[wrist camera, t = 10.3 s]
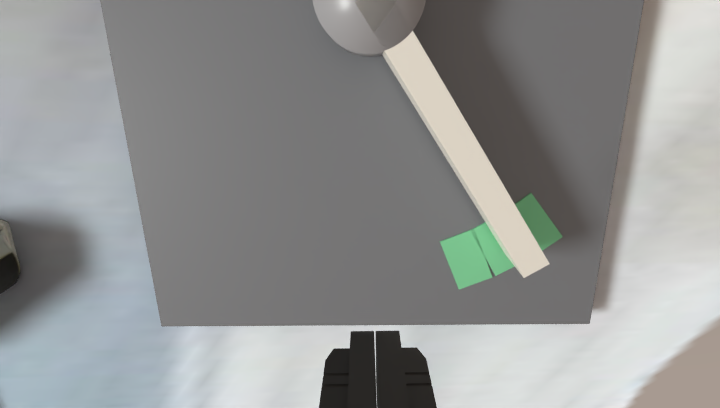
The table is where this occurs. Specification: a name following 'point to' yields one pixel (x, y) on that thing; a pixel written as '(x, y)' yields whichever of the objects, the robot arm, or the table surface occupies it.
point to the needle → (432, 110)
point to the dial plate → (367, 160)
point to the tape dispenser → (7, 258)
